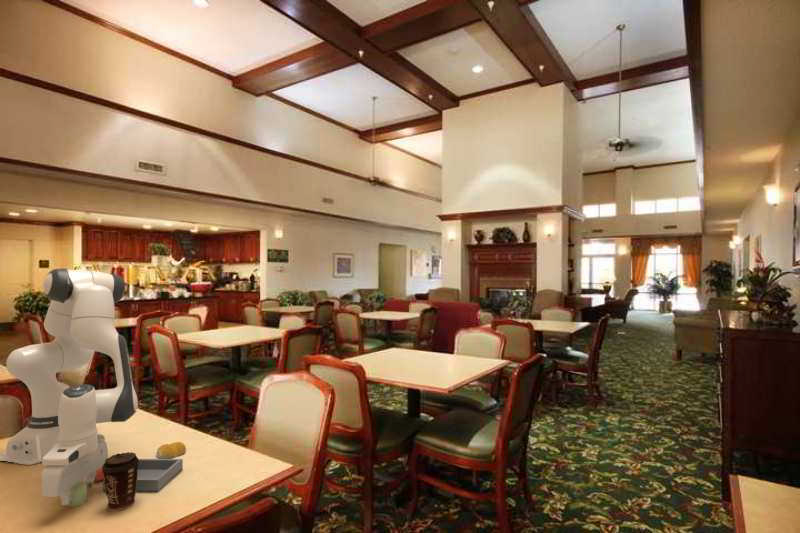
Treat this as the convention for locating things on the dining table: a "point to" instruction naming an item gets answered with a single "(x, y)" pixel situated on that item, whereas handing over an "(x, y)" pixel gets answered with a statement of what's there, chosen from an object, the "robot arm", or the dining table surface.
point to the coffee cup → (120, 480)
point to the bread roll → (170, 450)
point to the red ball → (99, 475)
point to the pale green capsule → (78, 494)
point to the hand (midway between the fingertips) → (77, 495)
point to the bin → (156, 473)
